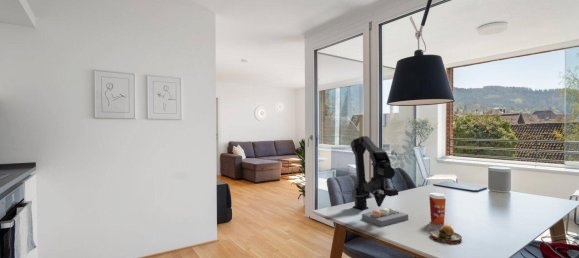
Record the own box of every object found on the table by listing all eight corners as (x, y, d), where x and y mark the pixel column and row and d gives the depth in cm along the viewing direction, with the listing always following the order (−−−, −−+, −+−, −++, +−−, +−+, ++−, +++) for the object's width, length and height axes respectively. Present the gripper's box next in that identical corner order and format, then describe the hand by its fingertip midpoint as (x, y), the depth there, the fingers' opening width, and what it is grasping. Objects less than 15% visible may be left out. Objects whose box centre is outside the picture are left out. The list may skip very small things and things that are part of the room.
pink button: (370, 217, 142) (370, 210, 142) (376, 216, 144) (376, 209, 144) (376, 220, 138) (376, 212, 138) (382, 218, 140) (382, 211, 140)
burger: (452, 233, 125) (452, 216, 125) (468, 244, 113) (468, 226, 113) (424, 233, 125) (424, 216, 125) (437, 244, 114) (437, 226, 114)
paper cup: (437, 226, 133) (436, 196, 133) (425, 221, 141) (425, 192, 141) (450, 224, 135) (450, 195, 135) (438, 219, 143) (438, 191, 143)
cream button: (379, 215, 145) (379, 208, 145) (384, 214, 147) (384, 207, 147) (385, 217, 141) (385, 210, 141) (390, 216, 143) (390, 209, 143)
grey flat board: (362, 218, 145) (361, 213, 145) (387, 212, 154) (387, 208, 154) (381, 226, 134) (381, 221, 134) (408, 219, 143) (408, 214, 143)
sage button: (387, 215, 148) (387, 209, 148) (392, 214, 150) (392, 207, 150) (393, 217, 144) (393, 211, 144) (398, 216, 146) (398, 209, 146)
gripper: (353, 174, 145) (353, 204, 145) (382, 179, 129) (383, 214, 129) (369, 172, 151) (369, 201, 151) (398, 177, 135) (399, 210, 135)
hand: (379, 206), depth 142 cm, fingers closed
